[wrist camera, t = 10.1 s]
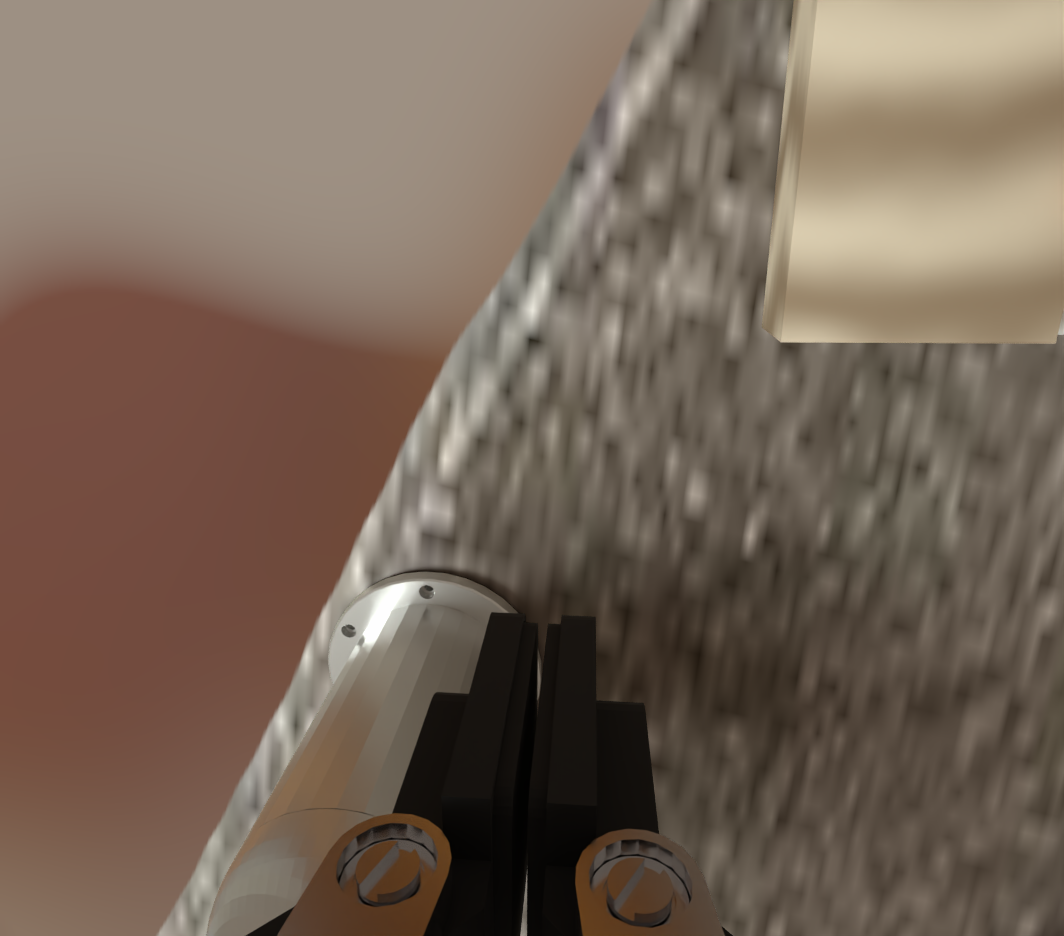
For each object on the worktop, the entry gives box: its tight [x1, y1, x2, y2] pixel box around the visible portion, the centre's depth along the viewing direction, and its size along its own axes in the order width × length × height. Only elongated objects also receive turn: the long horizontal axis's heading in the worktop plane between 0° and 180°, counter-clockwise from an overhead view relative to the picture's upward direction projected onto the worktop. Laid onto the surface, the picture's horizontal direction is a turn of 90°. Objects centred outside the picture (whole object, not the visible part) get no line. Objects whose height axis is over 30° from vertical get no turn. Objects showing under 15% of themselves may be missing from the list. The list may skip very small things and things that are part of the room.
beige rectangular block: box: [762, 0, 1064, 344], centre depth 29 cm, size 16×11×4 cm
